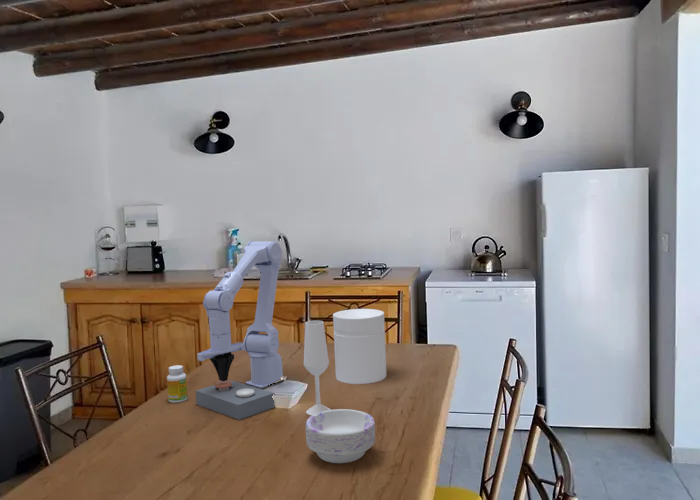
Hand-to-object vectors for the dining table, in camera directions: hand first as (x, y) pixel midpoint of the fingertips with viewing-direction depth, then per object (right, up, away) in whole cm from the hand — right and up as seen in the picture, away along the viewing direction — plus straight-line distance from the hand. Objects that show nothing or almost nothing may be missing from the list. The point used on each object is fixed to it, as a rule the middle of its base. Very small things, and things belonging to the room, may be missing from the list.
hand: (223, 380), depth 174 cm
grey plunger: (+8, -6, -6) cm, 11 cm away
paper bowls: (+34, -9, -38) cm, 52 cm away
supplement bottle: (-14, -7, +4) cm, 16 cm away
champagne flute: (+27, -6, -10) cm, 30 cm away
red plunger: (0, -5, 0) cm, 5 cm away
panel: (+4, -7, -3) cm, 8 cm away
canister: (+39, -3, +20) cm, 44 cm away
